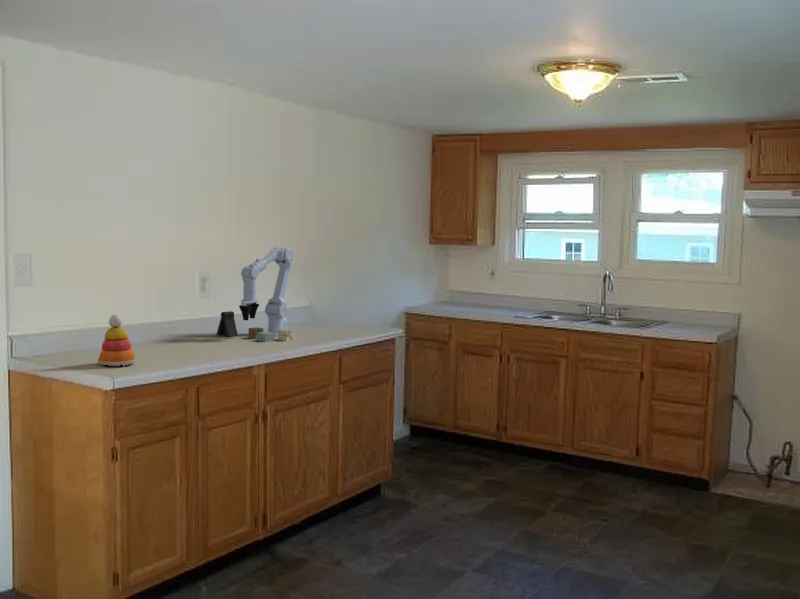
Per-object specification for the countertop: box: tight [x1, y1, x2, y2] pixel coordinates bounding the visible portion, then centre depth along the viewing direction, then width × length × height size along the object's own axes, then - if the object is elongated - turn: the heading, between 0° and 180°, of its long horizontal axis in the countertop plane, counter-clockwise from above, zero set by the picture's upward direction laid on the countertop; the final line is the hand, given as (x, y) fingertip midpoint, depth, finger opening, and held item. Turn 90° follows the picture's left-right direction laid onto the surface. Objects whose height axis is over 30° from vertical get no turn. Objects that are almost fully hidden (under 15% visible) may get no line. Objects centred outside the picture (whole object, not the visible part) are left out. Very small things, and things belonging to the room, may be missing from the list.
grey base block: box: [256, 331, 276, 343], centre depth 385 cm, size 6×6×4 cm
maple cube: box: [277, 328, 293, 342], centre depth 390 cm, size 5×5×5 cm
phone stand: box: [215, 310, 239, 338], centre depth 395 cm, size 9×6×12 cm, turn 55°
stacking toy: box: [97, 314, 137, 367], centre depth 309 cm, size 14×14×20 cm
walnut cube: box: [247, 326, 264, 340], centre depth 392 cm, size 5×5×5 cm
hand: (249, 319), depth 389 cm, fingers open, 7 cm apart
